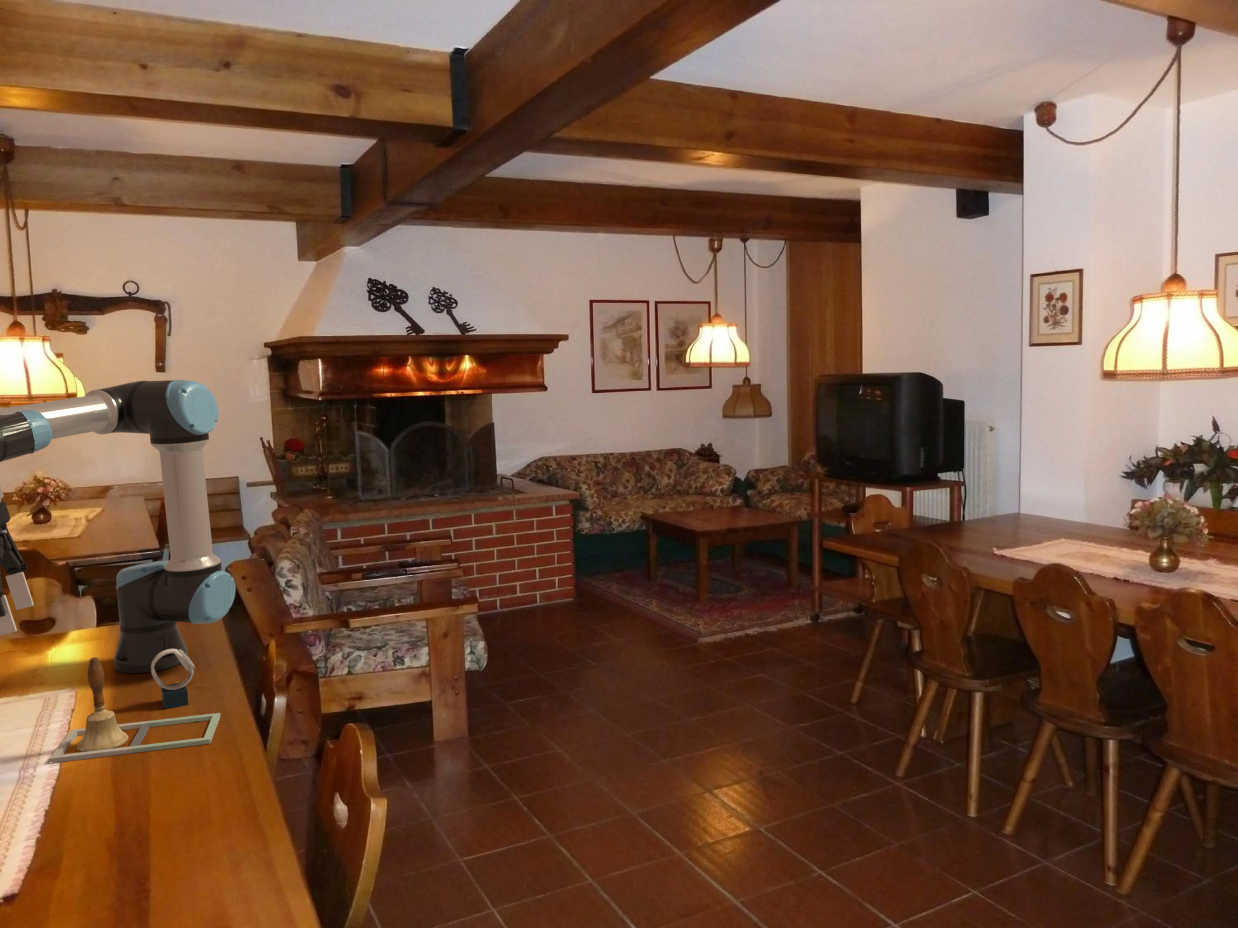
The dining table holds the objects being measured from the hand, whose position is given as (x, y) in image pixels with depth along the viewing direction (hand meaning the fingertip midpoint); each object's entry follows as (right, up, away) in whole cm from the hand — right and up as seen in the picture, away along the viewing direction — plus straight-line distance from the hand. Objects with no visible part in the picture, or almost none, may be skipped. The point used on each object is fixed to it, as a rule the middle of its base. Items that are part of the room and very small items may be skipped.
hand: (16, 619), depth 164 cm
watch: (+16, -21, +24) cm, 36 cm away
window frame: (+18, -23, +6) cm, 30 cm away
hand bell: (+13, -23, +5) cm, 27 cm away
